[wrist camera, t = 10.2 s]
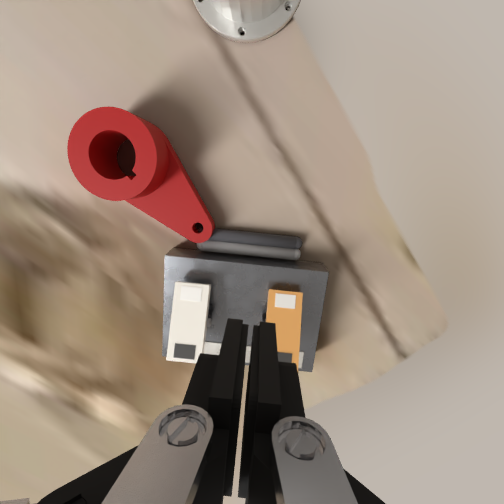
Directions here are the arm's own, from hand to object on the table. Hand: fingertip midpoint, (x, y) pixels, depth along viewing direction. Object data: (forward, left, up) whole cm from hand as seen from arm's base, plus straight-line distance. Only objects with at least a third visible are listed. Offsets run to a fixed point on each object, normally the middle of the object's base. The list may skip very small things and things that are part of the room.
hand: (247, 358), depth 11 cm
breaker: (+12, -7, -25) cm, 28 cm away
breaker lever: (+12, +4, -25) cm, 28 cm away
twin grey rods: (+2, -1, -31) cm, 31 cm away
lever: (-3, -13, -31) cm, 34 cm away
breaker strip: (+12, -1, -31) cm, 33 cm away
